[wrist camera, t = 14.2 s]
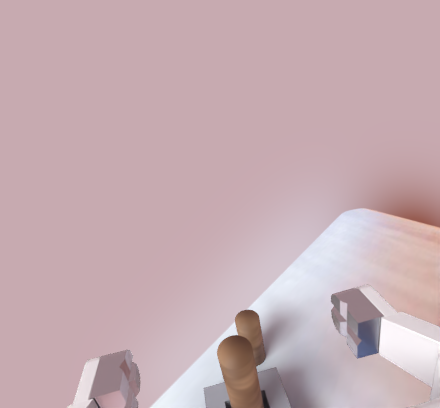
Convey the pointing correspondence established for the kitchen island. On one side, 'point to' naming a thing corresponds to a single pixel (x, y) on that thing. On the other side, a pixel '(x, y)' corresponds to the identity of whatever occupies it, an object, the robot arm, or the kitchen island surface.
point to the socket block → (269, 386)
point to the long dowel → (240, 372)
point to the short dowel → (251, 333)
